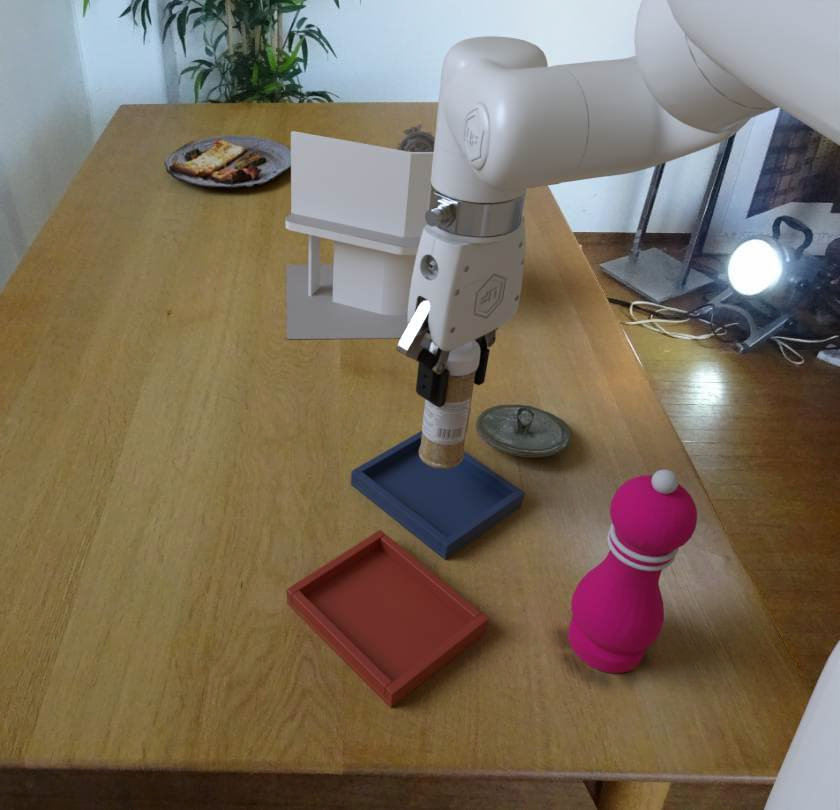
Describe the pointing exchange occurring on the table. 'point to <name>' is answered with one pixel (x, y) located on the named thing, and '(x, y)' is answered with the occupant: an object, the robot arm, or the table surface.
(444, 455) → the sprinkles bottle
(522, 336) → the table surface
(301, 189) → the architectural model
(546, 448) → the lid
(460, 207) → the robot arm
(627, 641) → the pepper mill
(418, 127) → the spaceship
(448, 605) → the red tray
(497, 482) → the blue tray
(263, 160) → the food plate
